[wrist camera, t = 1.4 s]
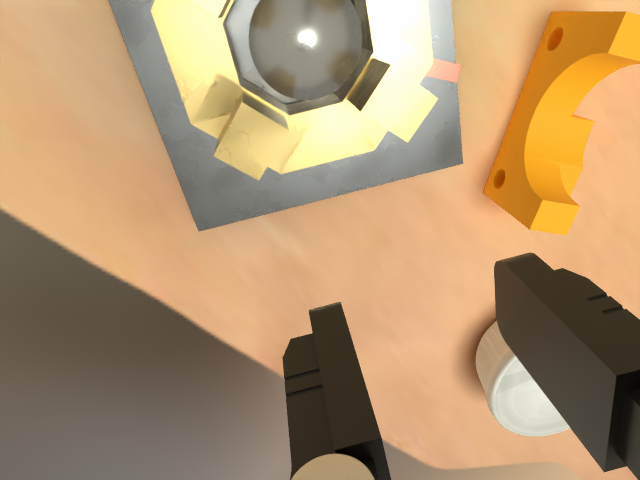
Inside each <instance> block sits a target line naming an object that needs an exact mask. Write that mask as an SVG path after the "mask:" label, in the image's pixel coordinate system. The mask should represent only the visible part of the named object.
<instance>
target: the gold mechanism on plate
mask: <svg viewBox="0 0 640 480" xmlns="http://www.w3.org/2000/svg"><path fill="white" fill-rule="evenodd" d="M154 1H155V0H109V3H110V6H111V8H112V11H113V13H114V16H115V18H116V21H117V24H118V26H119V29H120V31H121V34H122V36H123V39H124V41H125V44H126V47H127V49H128V52H129V54H130V57H131V59H132V62H133V64H134V67H135V70H136V72H137V75H138V77H139V80H140V82H141V85H142V88H143V90H144V93H145V95H146V98H147V100H148V103H149V105H150V108H151V111H152V113H153V116H154V118H155V121H156V123H157V126H158V128H159V131H160V134H161V136H162V139H163V141H164V144H165V146H166V149H167V152H168V154H169V157H170V159H171V162H172V164H173V167H174V169H175V172H176V175H177V177H178V180H179V182H180V185H181V187H182V190H183V192H184V195H185V198H186V200H187V203H188V205H189V208H190V210H191V213H192V215H193V218H194V221H195V223H196V226H197V228H198V231H203V230H206V229H210V228H214V227H218V226H222V225H226V224H230V223H234V222H238V221H241V220H245V219H249V218H253V217H257V216H261V215H265V214H269V213H273V212H276V211H280V210H284V209H288V208H292V207H296V206H300V205H304V204H308V203H311V202H315V201H319V200H323V199H327V198H331V197H335V196H339V195H343V194H346V193H350V192H354V191H358V190H362V189H366V188H370V187H374V186H378V185H381V184H385V183H389V182H393V181H397V180H401V179H405V178H409V177H413V176H416V175H420V174H424V173H428V172H432V171H436V170H440V169H444V168H448V167H451V166H455V165H459V164H463V158H462V144H461V130H460V117H459V103H458V89H457V79H458V75H459V72H460V69H461V66H462V65H459V64H456V61H455V47H454V33H453V19H452V5H451V0H427V2H428V12H429V23H430V34H431V44H432V55H433V64H432V66H431V67H430V69H429V70H428V72H427V73H426V74H425V76H424V77H423V79H422V80H421V82H420V83H419V85H420V86H422V87H423V88H424V89H426V90H427V91H429V92H430V93H431V94H433V95H434V96H436V97H437V98H438V100H437V101H436V103H435V104H434V106H433V107H432V109H431V110H430V112H429V113H428V114H427V116H426V117H425V119H424V120H423V122H422V123H421V124H420V126H419V127H418V129H417V130H416V132H415V133H414V134H413V136H412V137H411V139H410V140H409V142H408V143H407V142H406V141H404V140H403V139H401V138H400V137H398V136H397V135H395V134H394V133H392V132H390V131H389V130H388V131H387V132H386V134H385V135H384V137H383V138H382V140H381V141H380V143H379V144H378V146H377V147H376V149H375V150H374V151H370V152H366V153H362V154H358V155H354V156H350V157H346V158H343V159H339V160H335V161H331V162H327V163H323V164H319V165H315V166H311V167H307V168H303V169H300V170H296V171H292V172H288V173H284V174H280V173H278V172H276V171H274V170H273V169H271V168H269V167H267V168H266V170H265V172H264V173H263V175H262V177H261V178H260V180H257V179H255V178H253V177H251V176H249V175H247V174H246V173H244V172H242V171H240V170H238V169H236V168H234V167H233V166H231V165H229V164H227V163H225V162H223V161H221V160H220V159H218V158H216V157H214V156H213V154H214V151H215V147H216V143H217V140H218V139H217V138H215V137H213V136H211V135H209V134H208V133H206V132H204V131H202V130H200V129H199V128H197V127H195V126H193V125H191V123H190V120H189V117H188V114H187V112H186V109H185V106H184V103H183V100H182V97H181V95H180V92H179V89H178V86H177V83H176V80H175V78H174V75H173V72H172V69H171V66H170V64H169V61H168V58H167V55H166V52H165V49H164V47H163V44H162V41H161V38H160V35H159V33H158V30H157V27H156V24H155V21H154V18H153V16H152V13H151V8H152V6H153V4H154ZM226 26H227V29H228V32H229V36H230V39H231V43H232V46H233V50H234V53H235V57H236V60H237V64H238V67H239V71H240V74H241V78H242V79H244V80H246V81H247V82H249V83H251V84H252V85H254V86H255V87H257V88H259V89H260V90H262V91H264V92H265V93H267V94H268V95H270V96H272V97H273V98H275V99H276V100H278V101H280V102H281V103H283V104H285V105H289V104H293V103H297V102H301V101H305V100H314V99H319V98H322V97H325V96H327V95H329V94H332V93H334V92H335V91H336V90H337V89H339V88H340V87H341V86H342V85H343V84H344V83H345V82H346V81H347V80H348V79H349V77H350V76H351V74H352V73H353V71H354V69H355V67H356V65H357V63H358V60H359V57H360V53H361V47H362V30H361V24H360V20H359V17H358V14H357V11H356V9H355V5H354V0H236V2H235V4H234V6H233V8H232V10H231V12H230V14H229V16H228V18H227V20H226Z"/></svg>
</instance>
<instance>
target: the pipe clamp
mask: <svg viewBox="0 0 640 480" xmlns="http://www.w3.org/2000/svg"><path fill="white" fill-rule="evenodd" d="M633 64H640V15H637V14H633V13H629V12H551V15H550V17H549V20H548V22H547V25H546V28H545V30H544V33H543V36H542V38H541V41H540V44H539V46H538V49H537V51H536V54H535V57H534V59H533V62H532V65H531V67H530V70H529V72H528V75H527V78H526V80H525V83H524V86H523V88H522V91H521V94H520V96H519V99H518V101H517V104H516V107H515V109H514V112H513V115H512V117H511V120H510V122H509V125H508V128H507V130H506V133H505V136H504V138H503V141H502V144H501V146H500V149H499V151H498V154H497V157H496V159H495V162H494V165H493V167H492V170H491V173H490V175H489V178H488V180H487V183H486V186H485V188H484V191H483V193H484V194H485V195H487V196H488V197H489V198H490V199H492V200H493V201H494V202H496V203H497V204H498V205H499V206H501V207H502V208H503V209H504V210H506V211H507V212H508V213H509V214H511V215H512V216H513V217H514V218H516V219H517V220H518V221H519V222H521V223H522V224H523V225H525V226H526V227H527V228H528V229H530V230H536V231H543V232H549V233H556V234H563V235H567V233H568V231H569V229H570V227H571V225H572V222H573V220H574V218H575V216H576V214H577V212H578V210H579V208H580V206H579V205H578V204H577V203H575V202H574V201H573V200H572V199H571V197H570V194H571V192H572V190H573V188H574V186H575V184H576V182H577V179H578V177H579V175H580V173H581V171H582V169H583V154H584V149H585V145H586V141H587V138H588V135H589V133H590V130H591V128H592V126H593V124H594V122H595V121H592V120H589V119H585V118H582V117H579V116H576V115H573V113H574V111H575V110H576V108H577V106H578V105H579V103H580V102H581V101H582V99H583V98H584V97H585V96H586V94H587V93H588V92H589V91H590V90H591V89H592V88H593V87H594V86H595V85H596V84H597V83H598V82H600V81H601V80H602V79H603V78H605V77H606V76H608V75H609V74H611V73H612V72H614V71H616V70H618V69H620V68H623V67H626V66H629V65H633Z"/></svg>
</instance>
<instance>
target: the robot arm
mask: <svg viewBox="0 0 640 480" xmlns="http://www.w3.org/2000/svg"><path fill="white" fill-rule="evenodd" d="M494 279H495V303H496V319H497V324H498V327H499V330H500V333H501V335H502V337H503V339H504V341H505V342H506V344H507V345H508V347H509V348H510V349H511V351H512V352H513V353H514V354H515V356H516V357H517V358H518V360H519V361H520V362H521V364H522V365H523V366H524V368H525V369H526V370H527V372H528V373H529V374H530V375H531V377H532V378H533V379H534V381H535V382H536V383H537V385H538V386H539V387H540V389H541V390H542V391H543V393H544V394H545V395H546V396H547V398H548V399H549V400H550V402H551V403H552V404H553V406H554V407H555V408H556V410H557V411H558V412H559V414H560V415H561V416H562V417H563V419H564V420H565V421H566V423H567V424H568V425H569V427H570V428H571V429H572V431H573V432H574V433H575V435H576V436H577V437H578V438H579V440H580V441H581V442H582V444H583V445H584V446H585V448H586V449H587V450H588V452H589V453H590V454H591V456H592V457H593V458H594V459H595V461H596V462H597V463H598V465H599V466H600V467H601V469H602V470H603V471H604V472H607V471H610V470H614V469H618V468H622V467H625V466H627V467H628V468H629V469H630V470H631V471H632V473H633V474H634V475H635V476H636V478H637V479H638V480H640V320H639V319H638V318H637V317H636V316H634V315H633V314H632V313H631V312H629V311H628V310H627V309H623V308H622V305H621V304H619V303H618V302H617V301H616V300H614V299H613V298H612V297H611V296H609V297H608V296H607V294H606V292H604V291H603V290H602V289H600V288H599V287H598V286H597V285H595V284H594V283H593V282H592V281H590V280H589V279H588V278H586V277H583V276H581V275H578V274H576V273H573V272H571V271H568V270H566V269H563V268H561V269H557V270H553V269H552V268H551V267H550V266H548V265H547V264H546V263H545V262H544V261H543V260H541V259H540V258H539V257H538V256H537V255H535V254H534V253H527V254H523V255H519V256H515V257H511V258H507V259H504V260H500V261H497V262H496V263H495V266H494ZM309 315H310V320H311V326H312V331H313V333H312V334H308V335H304V336H300V337H297V338H293V339H291V340H290V342H289V344H288V347H287V349H286V351H285V354H284V356H283V368H284V378H285V389H286V390H285V391H286V397H287V398H286V402H287V414H288V427H289V438H290V451H291V462H292V471H291V478H290V480H391V477H390V473H389V468H388V464H387V460H386V456H385V451H384V448H383V443H382V438H381V435H380V431H379V428H378V425H377V421H376V418H375V415H374V411H373V408H372V405H371V401H370V398H369V395H368V391H367V388H366V385H365V381H364V378H363V375H362V371H361V368H360V365H359V362H358V358H357V355H356V352H355V348H354V345H353V342H352V338H351V335H350V332H349V328H348V325H347V322H346V318H345V315H344V312H343V308H342V305H341V302H338V303H334V304H330V305H326V306H322V307H319V308H315V309H311V310H309Z"/></svg>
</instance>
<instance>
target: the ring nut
mask: <svg viewBox="0 0 640 480" xmlns="http://www.w3.org/2000/svg"><path fill="white" fill-rule="evenodd" d="M235 2H236V0H155V1H154V4H153V6H152V8H151V13H152V16H153V18H154V21H155V24H156V27H157V30H158V33H159V35H160V38H161V41H162V44H163V47H164V49H165V52H166V55H167V58H168V61H169V64H170V66H171V69H172V72H173V75H174V78H175V80H176V83H177V86H178V89H179V92H180V95H181V97H182V100H183V103H184V106H185V109H186V112H187V114H188V117H189V120H190V123H191V125H193V126H195V127H197V128H199V129H200V130H202V131H204V132H206V133H208V134H209V135H211V136H213V137H215V138H217V139H218V140H217V143H216V147H215V151H214V154H213V156H214V157H216V158H218V159H220V160H221V161H223V162H225V163H227V164H229V165H231V166H233V167H234V168H236V169H238V170H240V171H242V172H244V173H246V174H247V175H249V176H251V177H253V178H255V179H257V180H260V178H261V177H262V175H263V173H264V172H265V170H266V168H267V167H269V168H271V169H273V170H274V171H276V172H278V173H280V174H284V173H288V172H292V171H296V170H300V169H303V168H307V167H311V166H315V165H319V164H323V163H327V162H331V161H335V160H339V159H343V158H346V157H350V156H354V155H358V154H362V153H366V152H370V151H374V150H375V149H376V147H377V146H378V144H379V143H380V141H381V140H382V138H383V137H384V135H385V134H386V132H387V131H388V130H389V131H390V132H392V133H394V134H395V135H397V136H398V137H400V138H401V139H403V140H404V141H406V142H407V143H408V142H409V140H410V139H411V137H412V136H413V134H414V133H415V132H416V130H417V129H418V127H419V126H420V124H421V123H422V122H423V120H424V119H425V117H426V116H427V114H428V113H429V112H430V110H431V109H432V107H433V106H434V104H435V103H436V101H437V100H438V98H437V97H436V96H434V95H433V94H431V93H430V92H429V91H427V90H426V89H424V88H423V87H422V86H420V85H419V83H420V82H421V80H422V79H423V77H424V76H425V74H426V73H427V72H428V70H429V69H430V67H431V66H432V64H433V55H432V44H431V34H430V23H429V12H428V2H427V0H354V5H355V9H356V11H357V14H358V17H359V20H360V24H361V30H362V47H361V53H360V57H359V60H358V63H357V65H356V67H355V69H354V71H353V73H352V74H351V76H350V77H349V79H348V80H347V81H346V82H345V83H344V84H343V85H342V86H341V87H340V88H339V89H337V90H336V91H335V92H334V93H332V94H329V95H327V96H325V97H322V98H319V99H314V100H305V101H301V102H297V103H293V104H289V105H285V104H283V103H281V102H280V101H278V100H276V99H275V98H273V97H272V96H270V95H268V94H267V93H265V92H264V91H262V90H260V89H259V88H257V87H255V86H254V85H252V84H251V83H249V82H247V81H246V80H244V79H242V78H241V74H240V71H239V67H238V64H237V60H236V57H235V53H234V50H233V46H232V43H231V39H230V36H229V32H228V29H227V26H226V20H227V18H228V16H229V14H230V12H231V10H232V8H233V6H234V4H235Z"/></svg>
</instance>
